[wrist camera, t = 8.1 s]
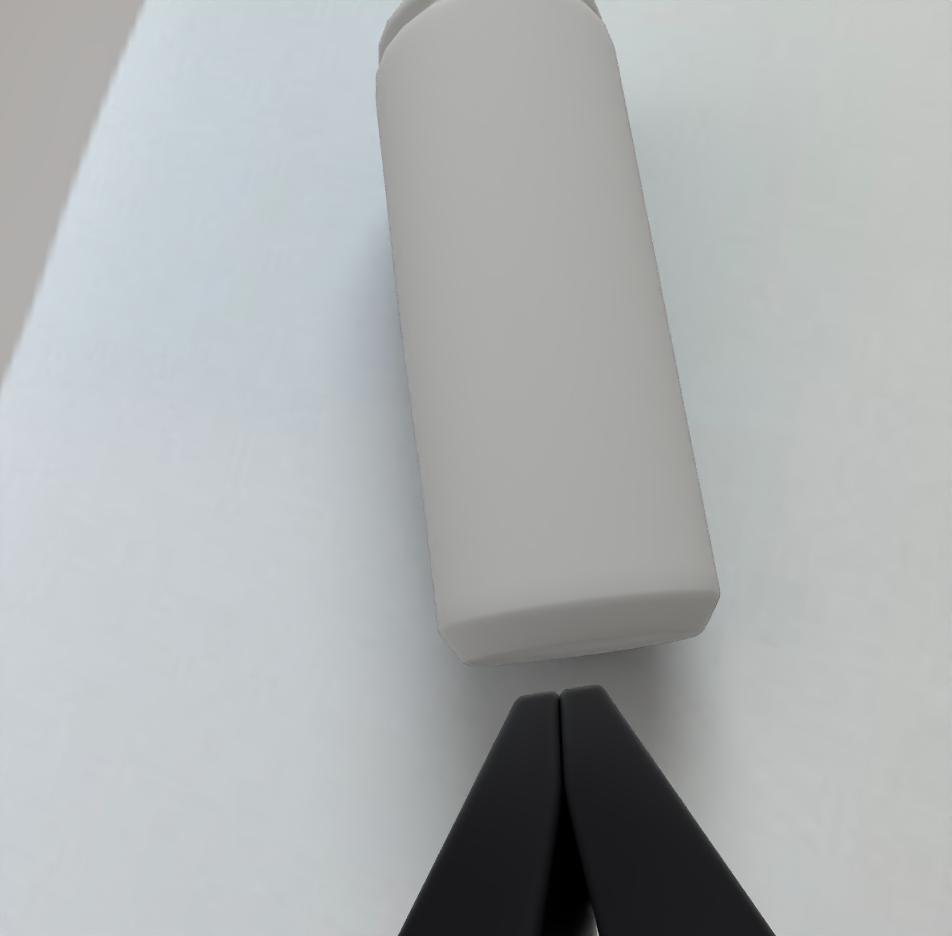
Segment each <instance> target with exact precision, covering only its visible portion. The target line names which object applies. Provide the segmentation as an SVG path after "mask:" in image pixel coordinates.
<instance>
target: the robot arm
mask: <svg viewBox="0 0 952 936" xmlns="http://www.w3.org/2000/svg"><path fill="white" fill-rule="evenodd" d="M596 924H597V928H598V933H599V936H776V935H775V934H774V933H773V931H772V930H771V928H770V927H769V925H768V924H767V922H766V921H765V920H764V918H763V917H762V915H761V914H760V912H759V911H758V910H757V908H756V907H755V905H754V904H753V902H752V901H751V899H750V898H749V897H748V895H747V894H746V892H745V891H744V889H743V888H742V887H741V885H740V884H739V882H738V881H737V879H736V878H735V876H734V875H733V874H732V872H731V871H730V869H729V868H728V866H727V865H726V864H725V862H724V861H723V859H722V858H721V856H720V855H719V853H718V852H717V851H716V849H715V848H714V846H713V845H712V843H711V842H710V841H709V839H708V838H707V836H706V835H705V833H704V832H703V830H702V829H701V828H700V826H699V825H698V823H697V822H696V820H695V819H694V818H693V816H692V815H691V813H690V812H689V810H688V809H687V807H686V806H685V805H684V803H683V802H682V800H681V799H680V797H679V796H678V795H677V793H676V792H675V790H674V789H673V787H672V786H671V784H670V783H669V782H668V780H667V779H666V777H665V776H664V774H663V773H662V772H661V770H660V769H659V767H658V766H657V764H656V763H655V761H654V760H653V759H652V757H651V756H650V754H649V753H648V751H647V750H646V749H645V747H644V746H643V744H642V743H641V741H640V740H639V738H638V737H637V736H636V734H635V733H634V731H633V730H632V728H631V727H630V726H629V724H628V723H627V721H626V720H625V718H624V717H623V715H622V714H621V713H620V711H619V710H618V708H617V707H616V705H615V704H614V703H613V701H612V700H611V698H610V697H609V695H608V694H607V692H606V691H605V690H604V689H603V688H602V687H601V686H599V685H591V686H584V687H577V688H571V689H566V690H564V691H562V693H561V695H560V696H559V695H558V694H557V693H555V692H545V693H538V694H532V695H525V696H521V697H519V698H518V699H517V700H516V701H515V703H514V704H513V706H512V708H511V710H510V712H509V714H508V716H507V718H506V720H505V722H504V724H503V726H502V728H501V730H500V732H499V734H498V736H497V738H496V740H495V742H494V744H493V746H492V748H491V750H490V752H489V754H488V756H487V758H486V760H485V762H484V764H483V766H482V768H481V770H480V772H479V774H478V776H477V778H476V780H475V782H474V784H473V786H472V788H471V790H470V792H469V794H468V797H467V799H466V801H465V803H464V805H463V807H462V809H461V811H460V813H459V815H458V817H457V819H456V821H455V823H454V825H453V827H452V829H451V831H450V833H449V835H448V837H447V839H446V841H445V843H444V845H443V847H442V849H441V851H440V853H439V855H438V857H437V859H436V861H435V863H434V865H433V867H432V869H431V871H430V873H429V875H428V877H427V879H426V881H425V883H424V885H423V887H422V889H421V891H420V893H419V895H418V897H417V899H416V901H415V903H414V905H413V907H412V909H411V911H410V913H409V915H408V917H407V919H406V921H405V923H404V925H403V927H402V929H401V931H400V933H399V935H398V936H597V931H596Z"/></svg>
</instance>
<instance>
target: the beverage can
mask: <svg viewBox="0 0 952 936" xmlns="http://www.w3.org/2000/svg"><path fill="white" fill-rule="evenodd" d="M376 108H377V117H378V126H379V136H380V145H381V154H382V163H383V172H384V182H385V191H386V200H387V209H388V218H389V228H390V237H391V246H392V255H393V264H394V273H395V282H396V290H397V299H398V308H399V316H400V325H401V334H402V342H403V350H404V357H405V365H406V372H407V380H408V387H409V395H410V403H411V410H412V418H413V425H414V433H415V440H416V448H417V455H418V462H419V470H420V477H421V485H422V494H423V502H424V510H425V519H426V527H427V535H428V544H429V552H430V561H431V570H432V579H433V587H434V596H435V605H436V614H437V623H438V631H439V634H440V636H441V637H442V639H443V640H444V641H445V643H446V644H447V645H448V646H449V647H450V648H451V650H452V651H453V652H454V653H455V654H456V656H457V657H458V658H459V659H460V660H461V661H462V662H463V663H465V664H467V665H470V666H490V665H504V664H516V663H526V662H535V661H545V660H553V659H561V658H570V657H577V656H585V655H593V654H600V653H607V652H614V651H620V650H627V649H633V648H639V647H646V646H651V645H657V644H662V643H668V642H673V641H678V640H682V639H687V638H690V637H694V636H697V635H699V634H700V633H701V632H702V631H703V630H704V628H705V627H706V625H707V623H708V621H709V619H710V617H711V615H712V613H713V611H714V609H715V607H716V605H717V602H718V600H719V597H720V588H719V583H718V578H717V573H716V567H715V562H714V557H713V552H712V547H711V542H710V536H709V531H708V526H707V521H706V516H705V511H704V505H703V500H702V495H701V490H700V485H699V480H698V475H697V469H696V464H695V459H694V454H693V449H692V444H691V438H690V433H689V428H688V423H687V418H686V413H685V407H684V402H683V397H682V392H681V387H680V382H679V376H678V371H677V366H676V361H675V356H674V351H673V346H672V340H671V335H670V330H669V325H668V320H667V315H666V309H665V304H664V299H663V294H662V289H661V284H660V278H659V273H658V268H657V263H656V258H655V253H654V248H653V242H652V237H651V232H650V227H649V222H648V217H647V211H646V206H645V201H644V196H643V191H642V186H641V180H640V175H639V170H638V165H637V160H636V155H635V149H634V144H633V139H632V134H631V129H630V124H629V119H628V113H627V108H626V103H625V98H624V93H623V88H622V82H621V77H620V72H619V67H618V62H617V57H616V52H615V48H614V45H613V42H612V40H611V38H610V35H609V33H608V31H607V28H606V26H605V24H604V22H603V21H602V17H601V15H600V13H599V10H598V8H597V6H596V3H595V1H594V0H403V2H402V3H401V4H400V5H399V7H398V8H397V9H396V11H395V12H394V13H393V14H392V16H391V17H390V18H389V20H388V21H387V23H386V26H385V29H384V31H383V34H382V37H381V40H380V42H379V68H378V70H377V73H376Z"/></svg>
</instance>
